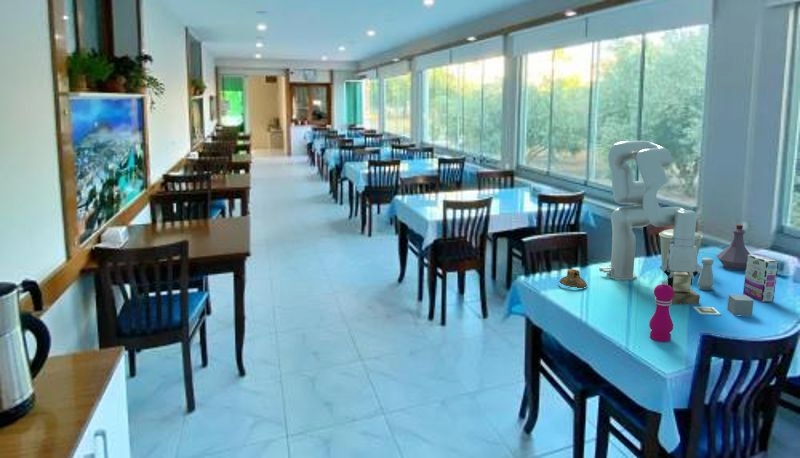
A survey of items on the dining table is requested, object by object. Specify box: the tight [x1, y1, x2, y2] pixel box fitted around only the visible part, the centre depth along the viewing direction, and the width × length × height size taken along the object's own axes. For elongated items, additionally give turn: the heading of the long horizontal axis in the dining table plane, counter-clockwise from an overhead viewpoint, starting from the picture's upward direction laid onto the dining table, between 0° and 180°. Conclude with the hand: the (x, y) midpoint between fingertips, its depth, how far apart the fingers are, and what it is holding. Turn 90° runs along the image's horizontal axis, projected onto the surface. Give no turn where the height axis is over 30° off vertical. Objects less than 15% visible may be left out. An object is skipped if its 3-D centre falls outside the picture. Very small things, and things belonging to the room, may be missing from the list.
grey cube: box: [726, 294, 755, 317], centre depth 205 cm, size 6×6×6 cm
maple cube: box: [672, 272, 692, 292], centre depth 219 cm, size 6×6×6 cm
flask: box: [716, 224, 752, 271], centre depth 260 cm, size 16×16×20 cm
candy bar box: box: [742, 254, 780, 303], centre depth 219 cm, size 11×5×16 cm, turn 5°
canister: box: [658, 228, 704, 271], centre depth 258 cm, size 18×18×21 cm
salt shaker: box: [697, 257, 715, 291], centre depth 232 cm, size 6×6×13 cm
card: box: [692, 306, 721, 316], centre depth 208 cm, size 7×7×1 cm
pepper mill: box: [648, 279, 674, 343], centre depth 183 cm, size 7×7×20 cm
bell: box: [558, 268, 588, 288], centre depth 239 cm, size 12×12×7 cm
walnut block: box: [671, 288, 701, 305], centre depth 220 cm, size 10×10×4 cm
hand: (679, 286), depth 220 cm, fingers closed on maple cube, 5 cm apart
